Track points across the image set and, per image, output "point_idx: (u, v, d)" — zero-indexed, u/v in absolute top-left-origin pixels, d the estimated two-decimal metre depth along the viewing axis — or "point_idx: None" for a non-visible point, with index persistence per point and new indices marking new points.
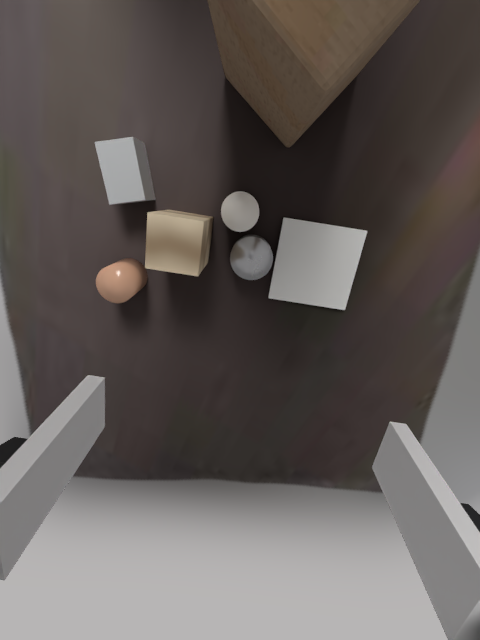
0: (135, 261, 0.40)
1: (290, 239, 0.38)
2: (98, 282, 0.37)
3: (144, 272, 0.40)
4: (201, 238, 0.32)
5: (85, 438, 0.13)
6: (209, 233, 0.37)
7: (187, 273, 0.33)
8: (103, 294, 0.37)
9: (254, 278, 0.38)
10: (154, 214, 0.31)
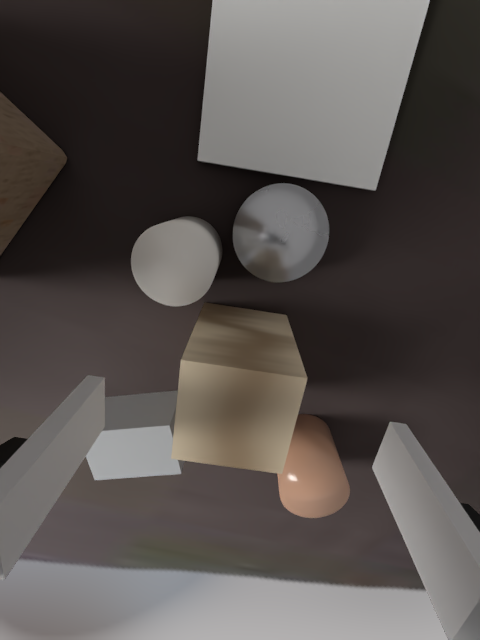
0: None
1: (244, 140, 0.17)
2: (308, 514, 0.21)
3: (298, 422, 0.23)
4: (219, 366, 0.14)
5: (85, 438, 0.13)
6: (228, 318, 0.19)
7: (298, 399, 0.14)
8: (330, 511, 0.21)
9: (325, 227, 0.16)
10: (174, 448, 0.15)
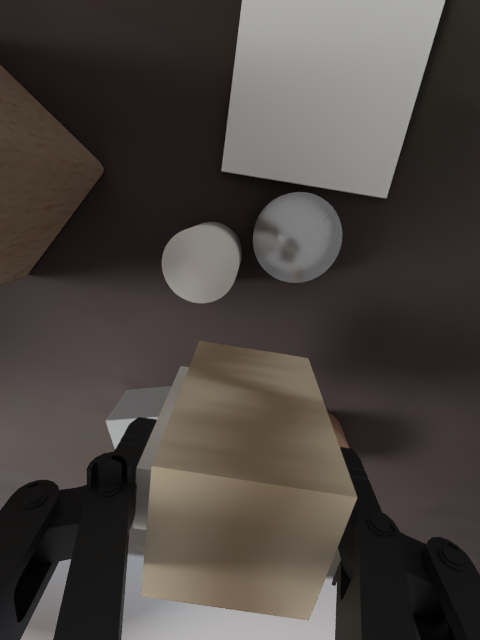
0: None
1: (264, 153, 0.19)
2: None
3: None
4: (214, 475, 0.09)
5: None
6: (230, 367, 0.14)
7: (340, 525, 0.09)
8: None
9: (339, 232, 0.18)
10: (145, 583, 0.10)
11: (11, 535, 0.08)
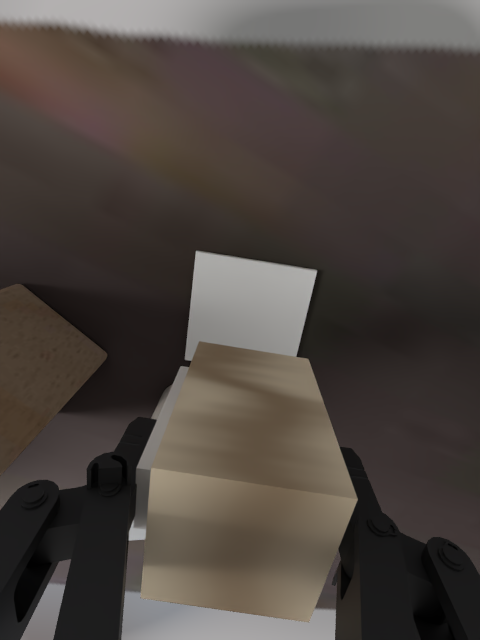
0: None
1: None
2: None
3: None
4: (214, 476, 0.08)
5: None
6: (230, 368, 0.14)
7: (341, 527, 0.09)
8: None
9: None
10: (144, 585, 0.10)
11: (11, 535, 0.08)
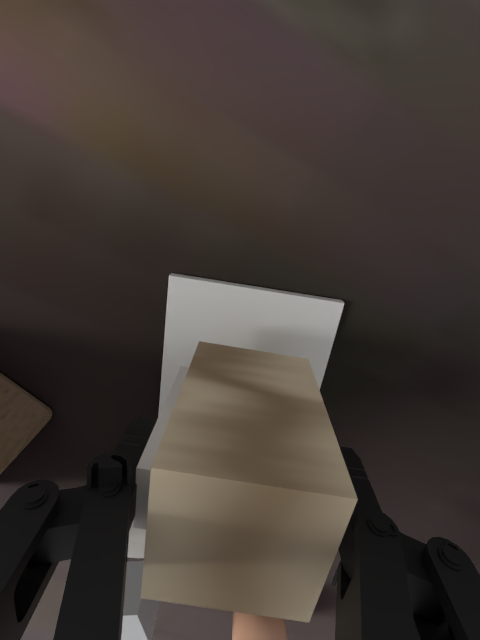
0: None
1: None
2: None
3: None
4: (214, 476, 0.08)
5: None
6: (230, 368, 0.14)
7: (341, 527, 0.09)
8: None
9: None
10: (144, 584, 0.10)
11: (11, 535, 0.08)
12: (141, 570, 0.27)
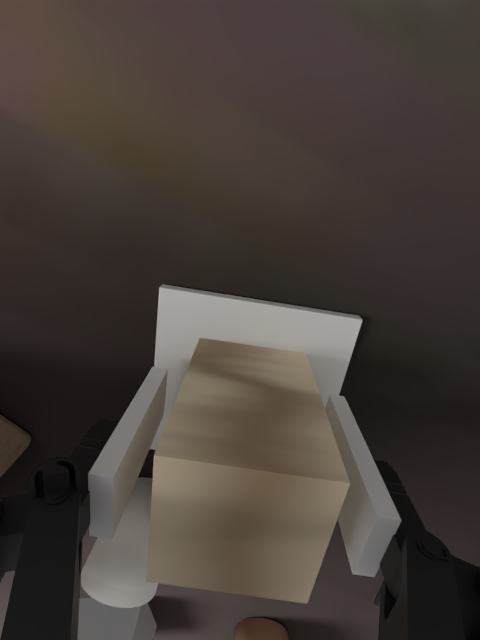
0: (234, 637, 0.25)
1: None
2: None
3: (249, 632, 0.25)
4: (213, 463, 0.09)
5: (154, 422, 0.15)
6: (230, 363, 0.14)
7: (335, 510, 0.09)
8: None
9: None
10: (150, 568, 0.11)
11: None
12: None
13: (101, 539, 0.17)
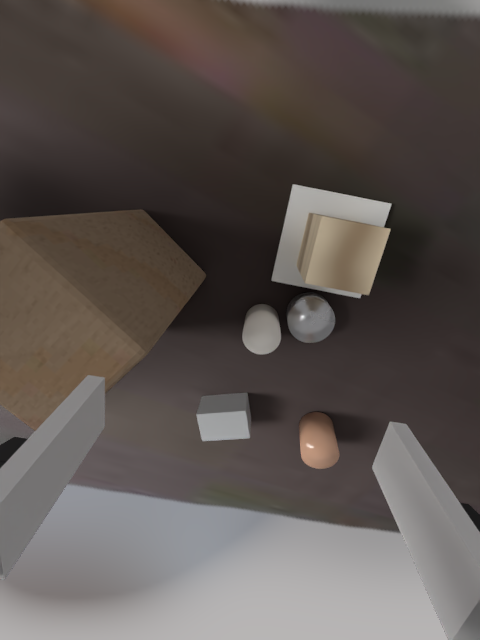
0: (299, 426, 0.42)
1: (295, 273, 0.35)
2: (322, 466, 0.38)
3: (307, 418, 0.41)
4: (342, 220, 0.25)
5: (85, 438, 0.13)
6: None
7: (384, 242, 0.26)
8: (333, 462, 0.38)
9: (333, 319, 0.34)
10: (308, 275, 0.27)
11: None
12: (241, 396, 0.41)
13: (251, 317, 0.34)
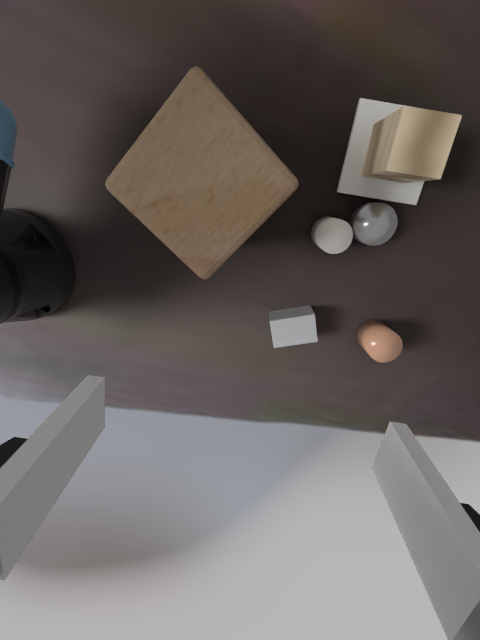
0: (357, 338, 0.46)
1: (359, 183, 0.39)
2: (391, 358, 0.42)
3: (362, 327, 0.46)
4: (420, 109, 0.30)
5: (85, 438, 0.13)
6: None
7: (456, 128, 0.30)
8: (399, 350, 0.42)
9: (396, 221, 0.39)
10: (389, 163, 0.31)
11: None
12: (306, 307, 0.45)
13: (324, 221, 0.38)
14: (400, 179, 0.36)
